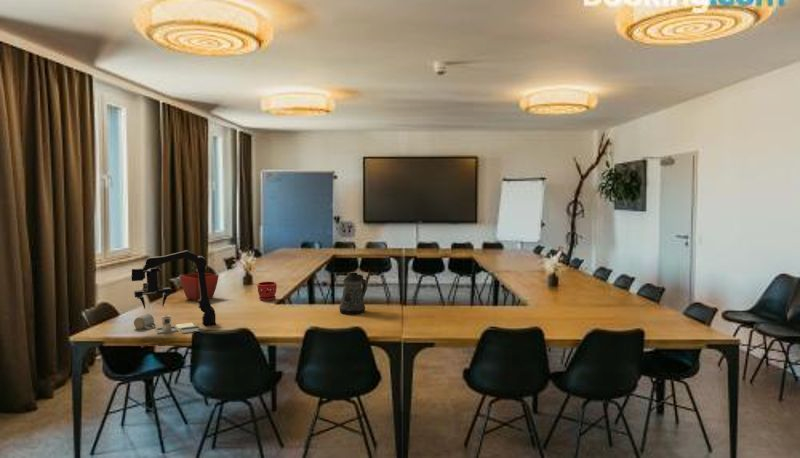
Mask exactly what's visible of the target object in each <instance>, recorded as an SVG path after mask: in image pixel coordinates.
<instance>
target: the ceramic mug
mask: <svg viewBox="0 0 800 458" xmlns="http://www.w3.org/2000/svg"><path fill="white" fill-rule="evenodd" d="M133 325H134V327H135V329H137V330H144V329H146V330H152V329H155V328H156V323H155V318H154V317H153V315H152V314H151V313H144V314H141V315H140V316H137V317H136V318H135V319H134V320H133ZM152 326H153V327H152Z"/></svg>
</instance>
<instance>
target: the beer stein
mask: <svg viewBox="0 0 800 458" xmlns="http://www.w3.org/2000/svg"><path fill="white" fill-rule="evenodd" d="M342 281H343V289H342V295H341V300H340V304H339V307H338V308H339V312H340V315H341V314H342V315H345V316H358V315H357V314H359V315H362V313H363V314H364V313H365V312H366V305H365V301H364V297H365V295H366V292H367V290H368V283H367V280H366V278H364V276H363V275H361V274H358V273H357V272H350V273H349V275H347V276H346V277H345V278H344V279H343V280H342Z"/></svg>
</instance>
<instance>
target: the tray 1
mask: <svg viewBox="0 0 800 458" xmlns="http://www.w3.org/2000/svg"><path fill="white" fill-rule="evenodd" d="M154 329H155V331H156V333H157V335H161V334H167V333H168V334H170V333H178V332H179V328H177V327H176V325H171V331H165V332H163V330H162V327H155V328H154Z"/></svg>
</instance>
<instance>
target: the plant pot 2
mask: <svg viewBox="0 0 800 458" xmlns="http://www.w3.org/2000/svg"><path fill="white" fill-rule="evenodd" d="M256 286H257V292H258V293H257V294H258V295H259V297H258V299H259V300H260V301H263V302H267V301H268V302H269V301H270V302H271V301H273V300H276V298H277V296H276V293H277V282H275V281H261V282H258V283H257V285H256Z"/></svg>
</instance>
